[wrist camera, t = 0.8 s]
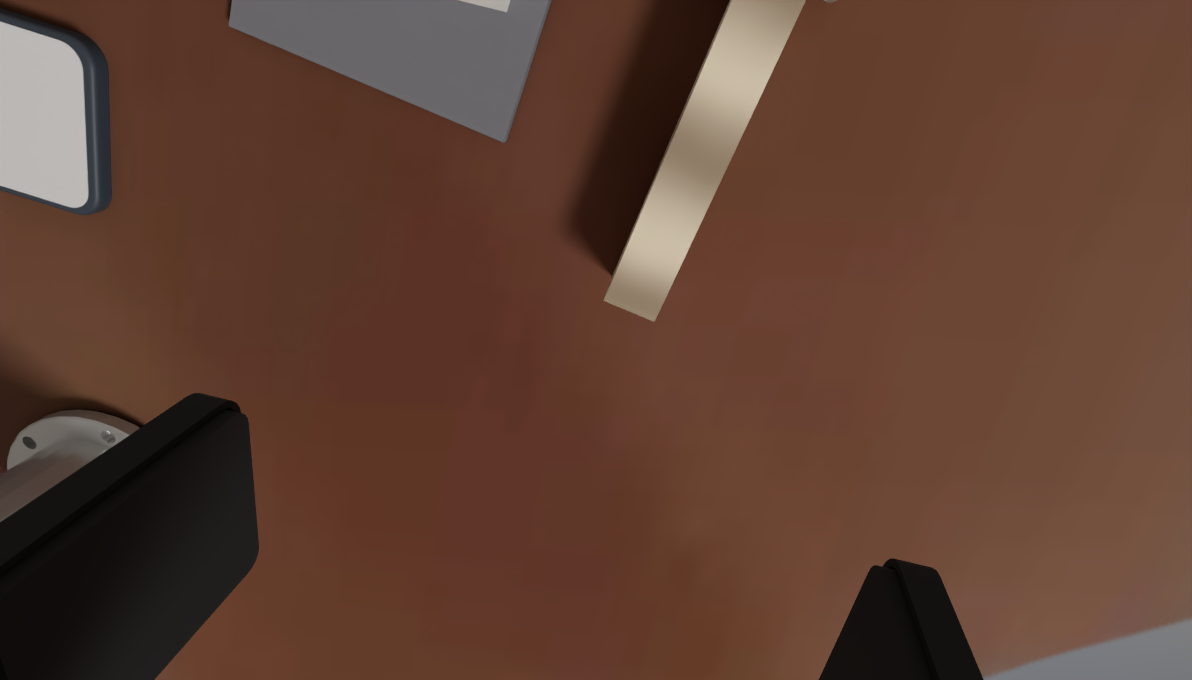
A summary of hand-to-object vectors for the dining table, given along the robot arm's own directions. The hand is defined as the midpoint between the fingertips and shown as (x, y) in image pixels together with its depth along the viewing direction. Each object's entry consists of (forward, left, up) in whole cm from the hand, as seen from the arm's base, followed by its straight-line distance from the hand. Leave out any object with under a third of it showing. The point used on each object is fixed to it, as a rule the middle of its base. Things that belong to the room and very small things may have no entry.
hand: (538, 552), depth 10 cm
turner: (+4, -1, -23) cm, 23 cm away
